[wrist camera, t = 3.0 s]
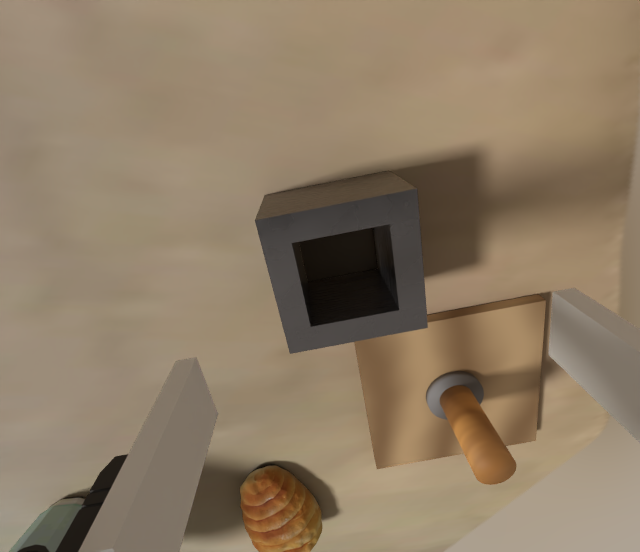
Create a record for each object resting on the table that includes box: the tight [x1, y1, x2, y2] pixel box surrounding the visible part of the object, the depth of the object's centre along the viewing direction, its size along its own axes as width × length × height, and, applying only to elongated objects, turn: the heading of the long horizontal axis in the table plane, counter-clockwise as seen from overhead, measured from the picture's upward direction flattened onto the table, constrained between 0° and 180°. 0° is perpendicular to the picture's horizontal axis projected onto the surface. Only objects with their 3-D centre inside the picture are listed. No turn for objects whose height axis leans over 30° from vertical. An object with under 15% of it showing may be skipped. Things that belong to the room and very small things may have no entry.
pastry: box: [240, 465, 322, 552], centre depth 34 cm, size 9×7×4 cm
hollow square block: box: [255, 171, 428, 354], centre depth 22 cm, size 8×8×6 cm
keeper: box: [355, 294, 546, 485], centre depth 27 cm, size 14×14×8 cm
